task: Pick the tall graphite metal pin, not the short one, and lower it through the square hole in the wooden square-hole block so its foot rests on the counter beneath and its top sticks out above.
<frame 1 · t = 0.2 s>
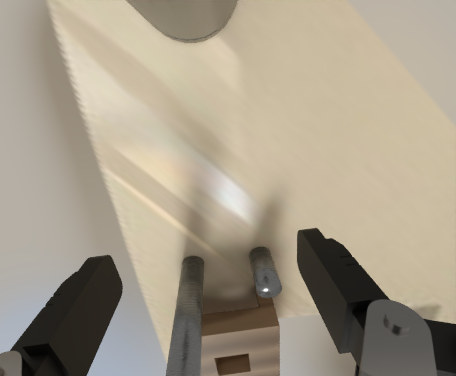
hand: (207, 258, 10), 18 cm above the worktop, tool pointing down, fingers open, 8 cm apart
short pin: (259, 255, 33), on the worktop
wooden square-hole block: (229, 319, 39), on the worktop
long pin: (193, 264, 33), on the worktop
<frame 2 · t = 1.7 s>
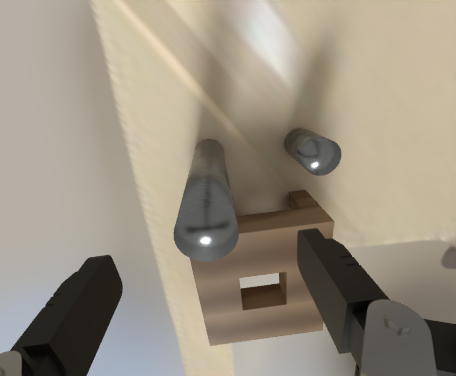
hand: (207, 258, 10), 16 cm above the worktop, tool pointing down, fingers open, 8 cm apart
short pin: (298, 142, 25), on the worktop
wooden square-hole block: (252, 249, 30), on the worktop
long pin: (209, 153, 25), on the worktop
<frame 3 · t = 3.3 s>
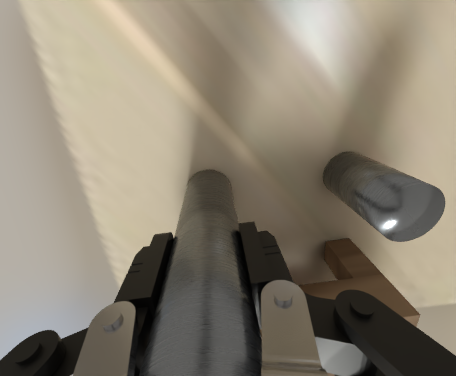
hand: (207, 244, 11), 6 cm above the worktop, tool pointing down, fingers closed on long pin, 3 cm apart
short pin: (344, 173, 16), on the worktop
wooden square-hole block: (270, 314, 22), on the worktop
long pin: (209, 190, 16), on the worktop, touching gripper
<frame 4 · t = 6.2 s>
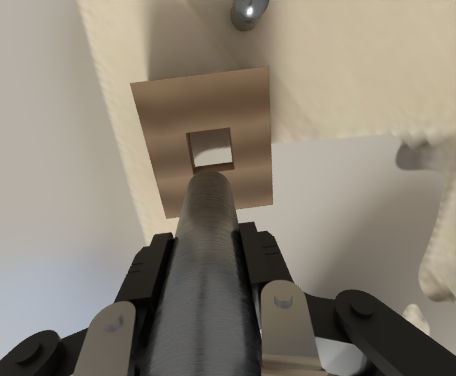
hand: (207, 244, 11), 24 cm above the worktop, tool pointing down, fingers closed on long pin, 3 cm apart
short pin: (244, 15, 26), on the worktop
wooden square-hole block: (211, 139, 32), on the worktop
long pin: (209, 191, 16), point 17 cm above the worktop, touching gripper
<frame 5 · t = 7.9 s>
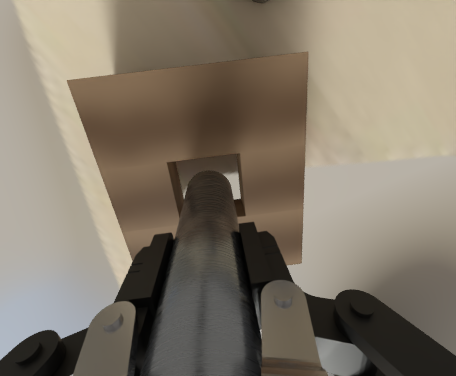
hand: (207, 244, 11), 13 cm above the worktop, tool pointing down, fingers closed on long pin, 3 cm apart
wooden square-hole block: (209, 162, 22), on the worktop
long pin: (209, 191, 16), point 7 cm above the worktop, touching gripper
when the fingers open (8 cm above the worktop, at t = 9.3 s): long pin drops 2 cm, on the worktop.
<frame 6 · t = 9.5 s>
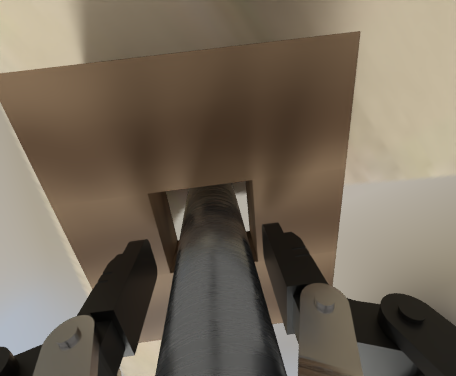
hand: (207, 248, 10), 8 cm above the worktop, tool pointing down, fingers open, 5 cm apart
wooden square-hole block: (209, 180, 18), on the worktop
long pin: (210, 180, 18), on the worktop
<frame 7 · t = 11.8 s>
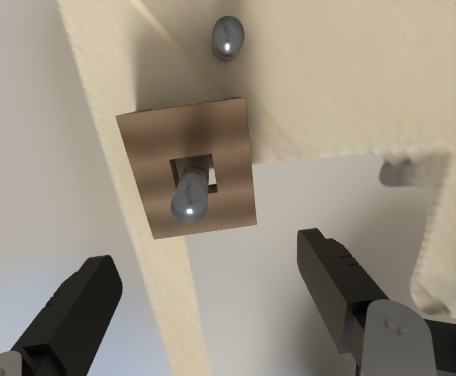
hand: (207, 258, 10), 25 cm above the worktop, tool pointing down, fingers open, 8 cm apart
short pin: (225, 47, 28), on the worktop
wooden square-hole block: (197, 160, 33), on the worktop
long pin: (198, 160, 33), on the worktop
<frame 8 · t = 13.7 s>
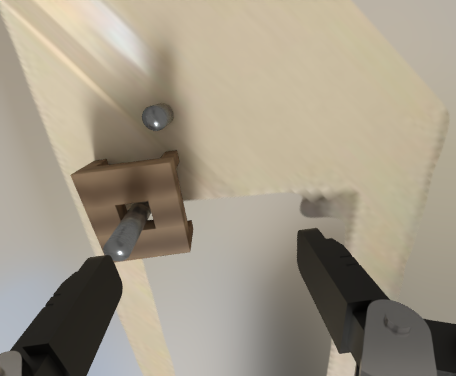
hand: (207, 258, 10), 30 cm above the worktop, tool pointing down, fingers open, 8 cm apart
short pin: (163, 114, 35), on the worktop
wooden square-hole block: (147, 197, 41), on the worktop
long pin: (148, 197, 41), on the worktop
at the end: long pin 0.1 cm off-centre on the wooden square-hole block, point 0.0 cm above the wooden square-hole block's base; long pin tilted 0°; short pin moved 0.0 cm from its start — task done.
